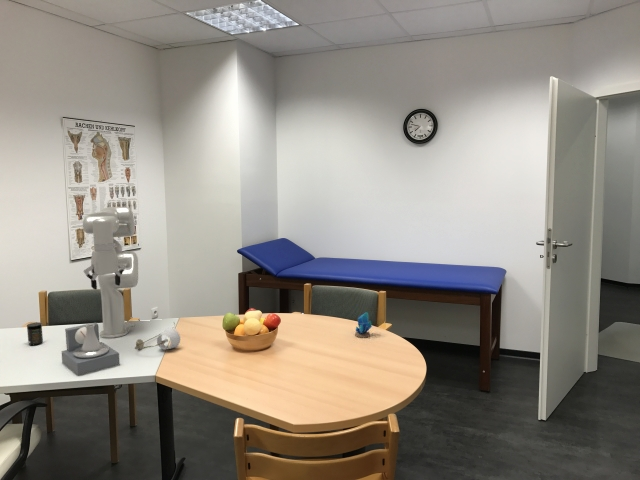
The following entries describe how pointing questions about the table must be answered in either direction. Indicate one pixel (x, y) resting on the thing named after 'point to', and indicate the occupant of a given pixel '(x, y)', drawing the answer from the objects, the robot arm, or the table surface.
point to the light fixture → (168, 332)
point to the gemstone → (363, 326)
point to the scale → (86, 365)
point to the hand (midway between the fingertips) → (106, 286)
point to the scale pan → (82, 354)
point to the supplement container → (35, 334)
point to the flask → (90, 340)
